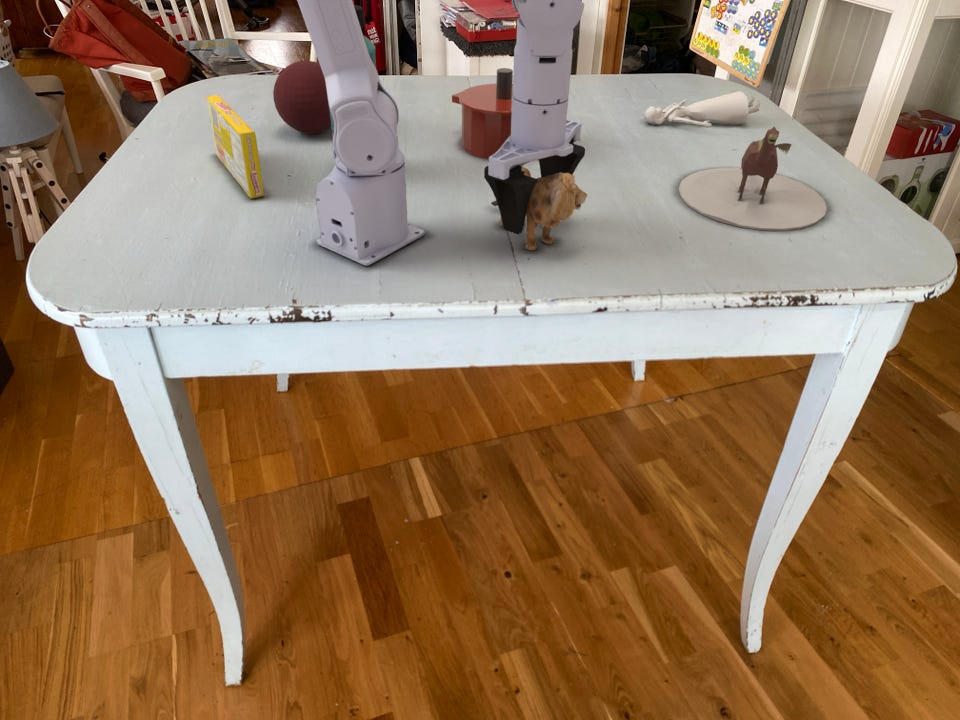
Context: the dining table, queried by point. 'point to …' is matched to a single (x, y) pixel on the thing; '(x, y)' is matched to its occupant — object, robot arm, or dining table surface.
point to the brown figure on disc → (754, 192)
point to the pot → (483, 131)
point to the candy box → (236, 146)
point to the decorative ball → (303, 97)
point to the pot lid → (491, 95)
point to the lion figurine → (550, 204)
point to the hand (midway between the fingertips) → (532, 218)
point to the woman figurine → (706, 111)
